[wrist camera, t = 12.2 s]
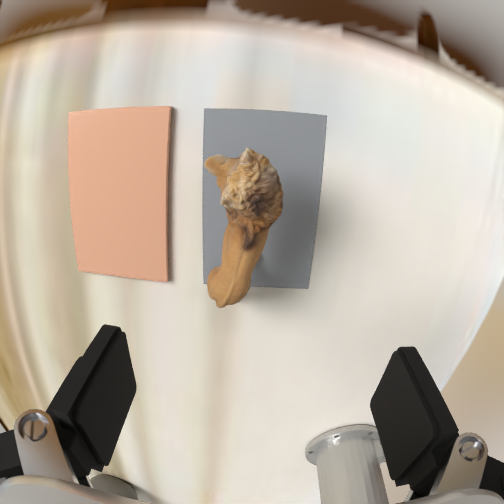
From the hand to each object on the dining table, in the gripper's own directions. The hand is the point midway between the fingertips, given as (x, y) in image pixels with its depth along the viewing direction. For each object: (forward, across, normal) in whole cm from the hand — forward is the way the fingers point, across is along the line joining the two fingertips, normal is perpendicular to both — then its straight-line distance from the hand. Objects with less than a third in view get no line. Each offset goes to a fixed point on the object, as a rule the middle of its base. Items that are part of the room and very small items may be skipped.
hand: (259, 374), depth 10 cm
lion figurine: (+19, +2, +1) cm, 19 cm away
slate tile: (+20, 0, -1) cm, 20 cm away
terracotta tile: (+19, +13, -1) cm, 23 cm away
